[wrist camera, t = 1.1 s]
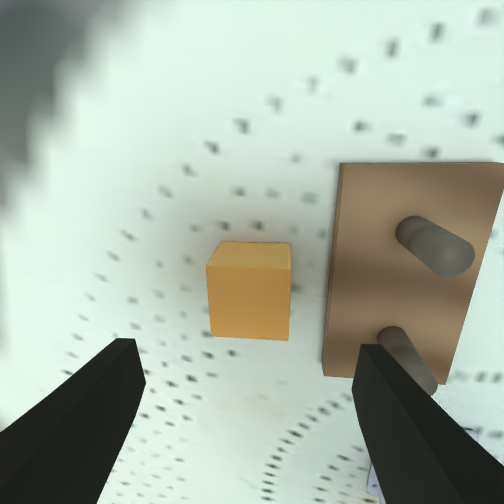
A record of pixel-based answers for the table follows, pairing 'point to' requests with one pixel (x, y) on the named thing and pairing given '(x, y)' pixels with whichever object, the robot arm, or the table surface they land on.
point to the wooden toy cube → (250, 290)
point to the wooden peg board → (407, 262)
